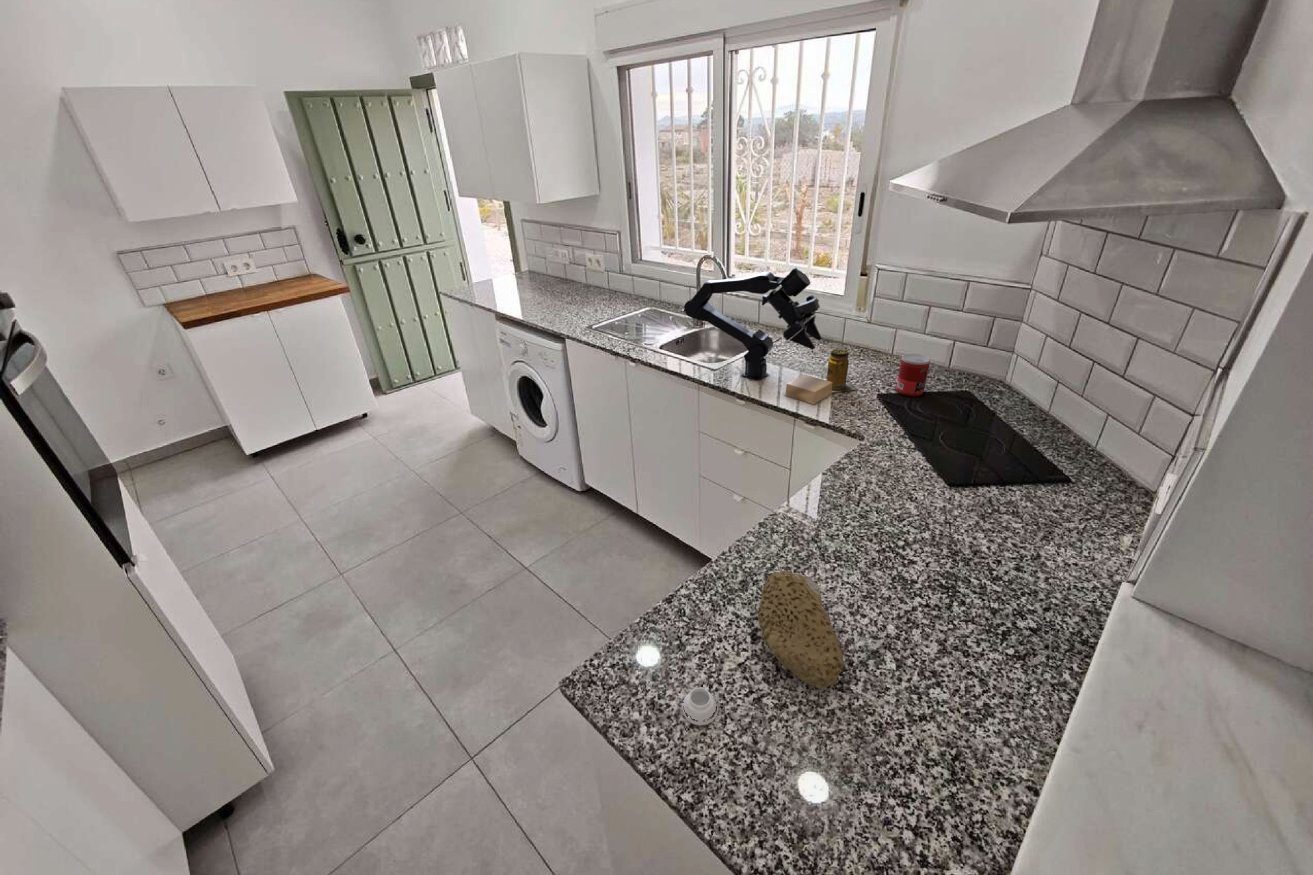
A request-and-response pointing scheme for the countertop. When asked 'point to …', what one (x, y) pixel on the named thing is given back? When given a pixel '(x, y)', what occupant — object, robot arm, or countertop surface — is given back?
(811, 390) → the block
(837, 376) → the condiment
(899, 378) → the canned food
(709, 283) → the robot arm
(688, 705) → the white jar
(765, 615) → the sponge
